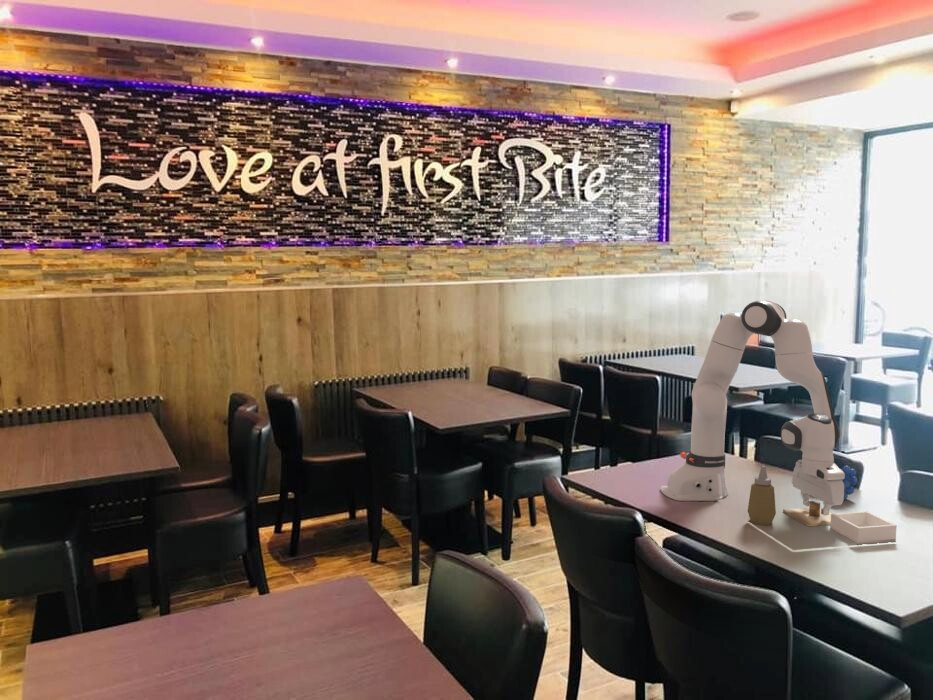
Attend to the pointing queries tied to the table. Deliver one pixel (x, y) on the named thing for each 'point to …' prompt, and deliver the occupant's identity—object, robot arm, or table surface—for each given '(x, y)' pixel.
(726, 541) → the table surface
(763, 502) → the squeeze bottle
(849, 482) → the grapes
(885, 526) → the white open box
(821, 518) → the lid
